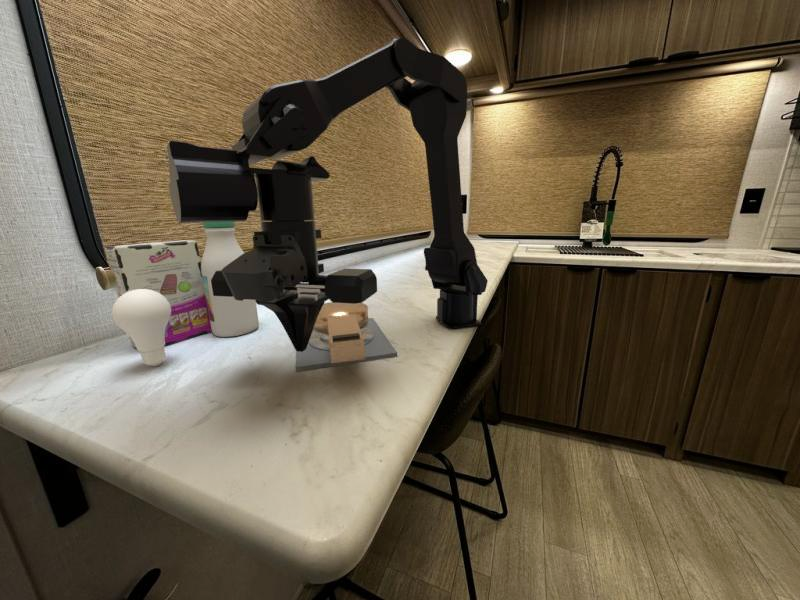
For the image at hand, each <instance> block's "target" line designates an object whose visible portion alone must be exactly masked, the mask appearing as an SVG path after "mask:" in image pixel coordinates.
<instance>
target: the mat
mask: <svg viewBox="0 0 800 600" xmlns="http://www.w3.org/2000/svg"><path fill="white" fill-rule="evenodd" d="M366 328H369V329H370V330H372V332H373V339H372V340H371V341H370V342H369V343H368V344H366V345H364V350H365V359H362V360H354V361H346V362H339V363H331V355H330V351H324V350H319V349H316V348H313V347H312V346H310V344H309V342H308V345H307V348H306V350H304V351H303V352H298V351H296V350H295V351H296V352H295V372H301V371H307V370H314V369H321V368H327V367H335V366H342V365H348V364H355V363H362V362H370V361H375V360H376V361H377V360H382V359H388V358H389V359H390V358H395V357H398V352H397V350H396V348H395V347H394V346H393V345H392V342H390V340H389V339H388V337H387V336H386V335H385V333H384V332H383V330H382V329H381V327H380V326H379V325H378V323H377V322H376V321H375V319H374V318H373V317H368V325H367V326H366ZM314 332H316V331H314V330H313V331H312V333H314Z"/></svg>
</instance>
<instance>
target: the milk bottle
mask: <svg viewBox="0 0 800 600" xmlns="http://www.w3.org/2000/svg"><path fill="white" fill-rule="evenodd" d="M202 226H203V228H204V232H205V233H206V241H205V242H206V243H205V247H204V248H205V249H204V250H203V251H204V252H203V254H202V257H201V258H202V259H201V273H202V280H203V286H204V292H205V297H206V303H207V308H208V314H209V319H210V324H211V329H212V331H211V332H212V334H213V335H214V336H216V337H222V338H225V337H226V338H229V337H230V338H231V337H237V336H242V335H245V334H249V333H252V332H254V331H256V330H257V329H258V328H259V325H260V322H259V316H258V315H259V313H258V308H257V303H256V302H255V300H249V299H244V300H243V301H238V300H235V299H234V296H233V297H226V296H213V290H212V284H211V279H212V277H213V275H214V274H215V272H216V271H219V270H222V269H223V268H224V267H225V266H227V265H228V264H230V263H231V262H232V261H234V260H235V259H237V258H238V257H239V256H241V255H242V254H244V253H245V252H244V251H243V249H242V248H241V246H240V244H239V243H238V241H237V239H236V236H235V231H236V229H235V228H236V227H235V222H202Z"/></svg>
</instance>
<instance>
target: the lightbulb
mask: <svg viewBox="0 0 800 600" xmlns="http://www.w3.org/2000/svg"><path fill="white" fill-rule="evenodd" d="M111 311H112V315H111V316H112V319H113V321H114V322H115V324H116V325H117V326H118V327H119V328H120V329H121V330H122V331H123V332H124V333H126V334H127V335H128V337H129V338H130V337H131V338H132V340H133V341H134V343H135V345H136V348H137V349H136V348H135V349H136V350H137V352H139V353H140V357H141V359H142V362H143V364H144V365H146V366H151V367H157V366H160V365H161V364H162V362H164V361H165V360H166V358H167V357H166V352H165V351H166V350H165V346H164V345H165V329H166V326H167V324H168V321H169V318H170V315H171V306H170V304H169V302H168V301H167V299H166V298H165V297H164V296H163V295H161V294H160V293H158V292H156V291H153V290H149V289H136V290H132V291H129V292H126V293H125V294H123V295H122V296H120V297H119V298H117V299H116V300H115V301H114V304H113V306H112V310H111Z"/></svg>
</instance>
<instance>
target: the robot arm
mask: <svg viewBox="0 0 800 600" xmlns="http://www.w3.org/2000/svg"><path fill="white" fill-rule="evenodd" d="M406 77H408V78H409V79H410V80H412V81H413V82H411V81H409V80H408V79H407V78H406ZM384 88H386V89H388V90H389V92H390V93H391V95H392V97H393V98H394V100H395V102H396V103H397V104H398V105H400V107H403V109H405V110H407V111H409V113H410V117H411V122H412V125H413V128H414V130H415V131H416V133H417V134H418V135H419V137H420V139H421V140H422V141H423V143H424V148H425V158H426V159H425V160H426V167H427V176H428V184H429V195H430V197H429V198H430V203H431V213H432V214H431V216H432V225H433V234H434V235H433V236H434V237H433V238H432V241H431V243H430V245H429V247H425V248H424V249H423V255H424V259H425V267H424V270H425V271H427V273H428V276H429V278H430V280H431V284H432V287H433V289H434V290H439V297H437V300H436V301H437V302H436V303H437V304H436V315H435V319H436V320H437V321H438V322H440V323H441V324H442V325H444V326H445V327H446V328H447V329H450V330H452V329H453V330H454V329H460V328H468V327H475V326H481V325H482V321H481V320H478V298H479V296H482V295H483V293H485V292H486V290H487V287H488V286H487V285H488V282H489V281H488V278H487V277H486V275H485V274H484V273H483V271H482V269H481V268H480V267H479V264H478V262H477V255H476V250H475V247H474V245H473V244H472V242H471V240H470V239H469V238H468V236H467V235H466V233H465V229H464V227H465V226H464V214H463V200H462V199H463V197H462V187H461V186H462V185H461V169H460V158H459V157H460V156H459V143H458V141H459V139H458V138H459V135H460V132H461V129H462V127H463V125H464V122H465V119H466V117H467V110H468V109H467V108H468V107H467V106H468V83H467V79H466V77H465V75H464V74H463V72H462V71H461V70H460V69H458V68H457V66H455V65H454V64H453V63H452V62H450V60H448V59H447V58H446V57H445V56H443V55H440V54H437V53H434V52H430V51H427V50H424V49H422V48H419V47H418V46H416V45H415V44H414V43H413V42H412V41H410V40H409V39H408V38H406V37H394V38H393V39H392V40H390V41H389V42H388V43H386V44H384V45H383V46H381V47H380V48H379V49H377V50H375V51H373V52H371V53H369V54H368V55H365V56H363V57H361V58H358V60H355V61H354V62H352V63H350V64H348V65H346V66H343V67H341V68H340V69H338V70H336V71H334V72H332V73H329V74H328V75H325V76H324V77H321V78H316V79H298V80H293V81H288V82H284V83H278V84H275V85H272V86H269V87H268V88H267V89H266V90H265V91H264V92H262V93H261V94H260V95H258V97H257V98H255V100H254V101H253V102H252V103H250V104H249V105H248V106H247V107H246V108H245V110H244V112H243V113H242V123H241V125H242V129H243V133H242V134H241V136H240V137H239V139H238V140H237V142H236V143H235V144H234V145H232V146H231V149H225V148H216V147H207V146H201V145H200V146H199V145H195V144H193V143H190V142H186V141H178V140H177V141H176V140H170V141H169V142H168V144H167V145H166V150H167V151H166V152H167V155H168V156H167V157H168V171H169V173H168V174H169V179H170V180H169V181H170V182H169V183H168V190H169V191H168V192H169V195H170V200H171V204H172V208H173V212H174V215H175V218H176V220H177V222H178V223H181V224H183V223H185V224H186V223H203V222H234V223H235V222H237V223H238V222H239V223H241V222H242V223H243V222H246V221H247V219H248V217H249V212H250V213H251V212H256V210H257V208H258V210H259V217H260V226H261V230H259V231H257V230H256V231H253V232H254V233H253V236H252V241H253V246H252V247H253V248H252V249H250V250H249V251H245V252H244V254H242V255H241V256H239V257H238V258H237V259H235V260H234V261H232V262H231V263H230V264H228V265H227V266H225V267H224V268H223V269H222V270H219V271H216V272H215V274H214V275H213V277H212V279H211V284H212V290H213V296H226V297H233V296H234V299H235V300H238V301H243V300H244V299H249V300H255V302H256V305H259V306H264V307H265V308H266V309H268V310H270V311H272V312H273V313H274V314H275V316H276V317H277V319H278V320H279V322H280V323H281V325H282V327H283V329H284V330H285V333H286V334H287V337H288V339H289V341H290V342H291V344H292V346H293V348H294V350H295V351H298V352H303V351H304V350H306V348H307V345H308V342H309V340H310V337H311V334H312V331H313V328H314V325H315V322H316V320H317V317H318V315H319V313H320V311H321V309H322V306H323V304H324V303H326V301H328V300H329V301H330V302H334V303H352V304H356V303H364V302H365V301H367V300H368V299H369V298H370V297H372V296H373V295H375V294H376V293H377V292H378V279H377V275H376V273H374V271H373V270H372V269H371V268H343V269H340V270H337V271H334V272H331V273H329V274H326V275H325V274H323V273H324V272H325V267H324V263H319V257H318V246H317V240H318V239H322V229H321V228H319V229H318V228H317V229H316V220H315V208H314V195H313V193H314V192H313V184H312V183H313V182H318V181H323V180H327V179H329V178H331V177H330V176H331V175H330V173H329V171H328V170H327V169H325V167H323V166H322V165H321V164H320V163H319V162H318V161H317V159H316V157H315V156H313V155H311V156H308V157H305V158H304V159H302V161H301V162H297V161H294V162H293V161H284V160H280V159H282V158H283V159H284V158H286V157H288V156H290V155H293V154H295V153H298V152H300V151H303V150H305V149H308V147H310V146H311V145H312V144H313V143H314V142H315V141H316V140H318V138H319V137H320V136H321V135H322V134H323V133H324V132H325V131H327V129H328V128H329V127H330V125H331V124H332V122H333V121H334V120H335V119H336V118H337V117H338V116H339V115H340V114H341V113H343V112H344V111H346V110H348V109H350V108H351V107H353V106H355V105H356V104H358V103H359V102H361V101H363V100H365V99H367V98H369V97H370V96H371V95H373V94H375V93H377V92H378V91H380V90H382V89H384ZM266 159H271V160H277V161H276V162H275V163H274V164H273V165H272V168H262V167H261V168H259V167H251V166H252V165H255V164H257V163H259V162H262V161H264V160H266ZM320 274H321V275H320ZM322 274H323V275H322Z"/></svg>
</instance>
